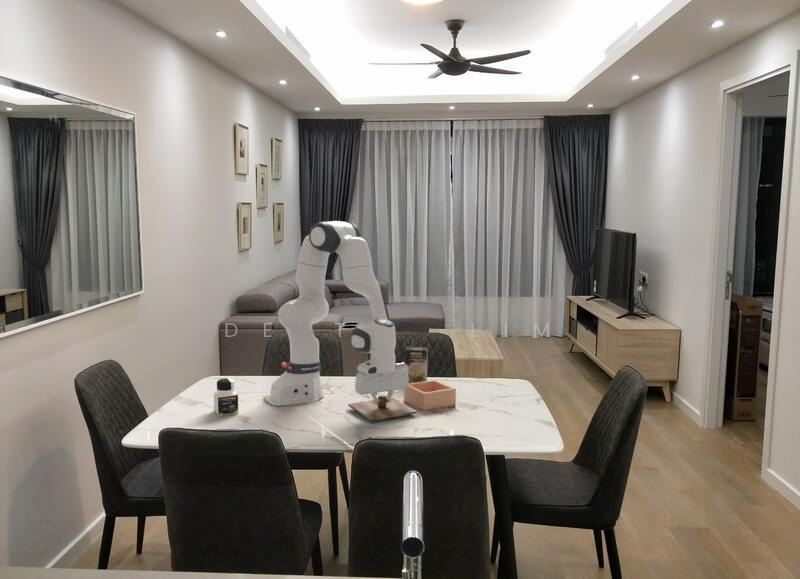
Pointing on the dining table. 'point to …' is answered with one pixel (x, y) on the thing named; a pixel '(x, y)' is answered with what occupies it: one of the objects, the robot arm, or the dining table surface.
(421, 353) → the coffee box
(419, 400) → the terracotta open box
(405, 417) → the slate mat
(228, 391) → the medicine bottle
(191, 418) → the dining table surface
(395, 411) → the walnut lid
